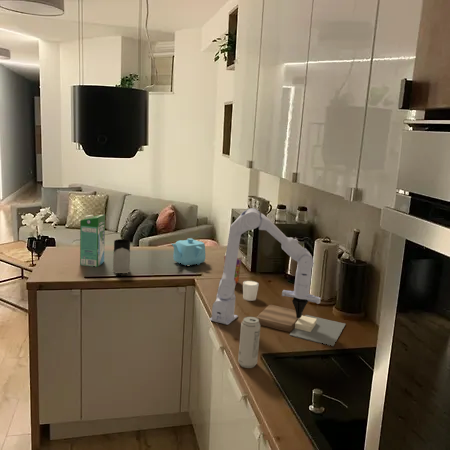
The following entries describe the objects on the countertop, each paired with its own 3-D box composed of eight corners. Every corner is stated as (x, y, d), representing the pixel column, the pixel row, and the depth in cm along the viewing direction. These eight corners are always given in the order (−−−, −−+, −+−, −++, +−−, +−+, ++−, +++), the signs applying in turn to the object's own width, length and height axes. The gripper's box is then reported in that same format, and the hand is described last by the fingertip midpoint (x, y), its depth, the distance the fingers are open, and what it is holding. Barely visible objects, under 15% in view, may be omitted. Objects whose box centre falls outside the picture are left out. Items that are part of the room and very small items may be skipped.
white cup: (256, 302, 205) (257, 286, 204) (240, 299, 207) (241, 284, 205) (258, 296, 212) (259, 281, 210) (243, 294, 213) (244, 279, 212)
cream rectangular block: (310, 332, 178) (310, 326, 177) (294, 328, 180) (295, 323, 180) (316, 323, 186) (316, 318, 185) (301, 320, 188) (301, 315, 188)
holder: (112, 274, 228) (112, 243, 225) (111, 265, 242) (112, 236, 239) (131, 273, 231) (131, 243, 227) (129, 265, 244) (130, 236, 241)
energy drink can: (241, 357, 155) (245, 314, 152) (259, 362, 153) (263, 318, 150) (235, 365, 150) (238, 320, 147) (253, 370, 148) (257, 325, 145)
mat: (333, 346, 168) (333, 345, 168) (289, 335, 175) (289, 334, 174) (345, 324, 188) (345, 323, 188) (305, 315, 194) (305, 314, 194)
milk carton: (87, 260, 247) (88, 212, 242) (104, 262, 246) (105, 214, 241) (79, 265, 238) (80, 215, 233) (97, 267, 237) (98, 217, 232)
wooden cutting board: (290, 332, 177) (291, 325, 177) (255, 323, 183) (255, 317, 182) (302, 317, 192) (303, 311, 191) (269, 310, 197) (269, 304, 197)
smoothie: (234, 287, 222) (237, 245, 218) (219, 283, 226) (221, 241, 222) (243, 282, 229) (246, 242, 225) (228, 278, 233) (231, 238, 229)
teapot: (177, 257, 263) (178, 233, 260) (207, 260, 261) (208, 236, 258) (169, 267, 246) (170, 241, 243) (200, 270, 243) (202, 244, 241)
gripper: (324, 284, 182) (320, 317, 184) (287, 276, 187) (283, 309, 190) (319, 289, 175) (315, 324, 178) (281, 281, 181) (278, 315, 184)
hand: (298, 317), depth 184 cm, fingers closed
